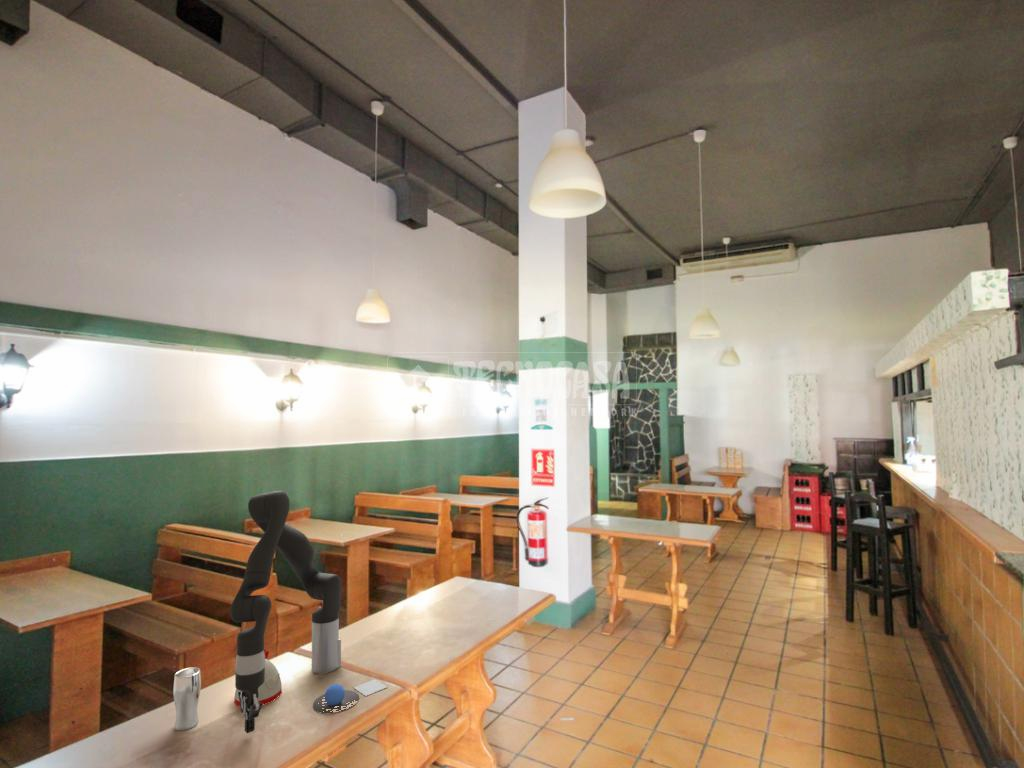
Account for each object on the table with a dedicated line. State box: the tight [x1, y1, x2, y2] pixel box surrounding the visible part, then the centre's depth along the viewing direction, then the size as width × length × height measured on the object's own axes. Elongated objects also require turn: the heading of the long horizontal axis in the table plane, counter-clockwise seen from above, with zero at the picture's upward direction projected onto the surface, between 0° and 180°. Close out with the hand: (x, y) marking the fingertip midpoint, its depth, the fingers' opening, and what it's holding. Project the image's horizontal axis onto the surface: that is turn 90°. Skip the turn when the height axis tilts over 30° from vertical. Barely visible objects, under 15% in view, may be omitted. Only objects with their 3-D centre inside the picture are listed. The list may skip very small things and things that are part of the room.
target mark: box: [312, 689, 360, 714], centre depth 169 cm, size 14×14×1 cm
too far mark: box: [353, 679, 388, 697], centre depth 178 cm, size 8×8×1 cm
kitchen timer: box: [234, 648, 283, 708], centre depth 174 cm, size 14×14×15 cm
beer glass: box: [172, 667, 202, 732], centre depth 158 cm, size 7×7×15 cm
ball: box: [324, 683, 345, 706], centre depth 168 cm, size 6×6×6 cm
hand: (249, 731), depth 151 cm, fingers closed
